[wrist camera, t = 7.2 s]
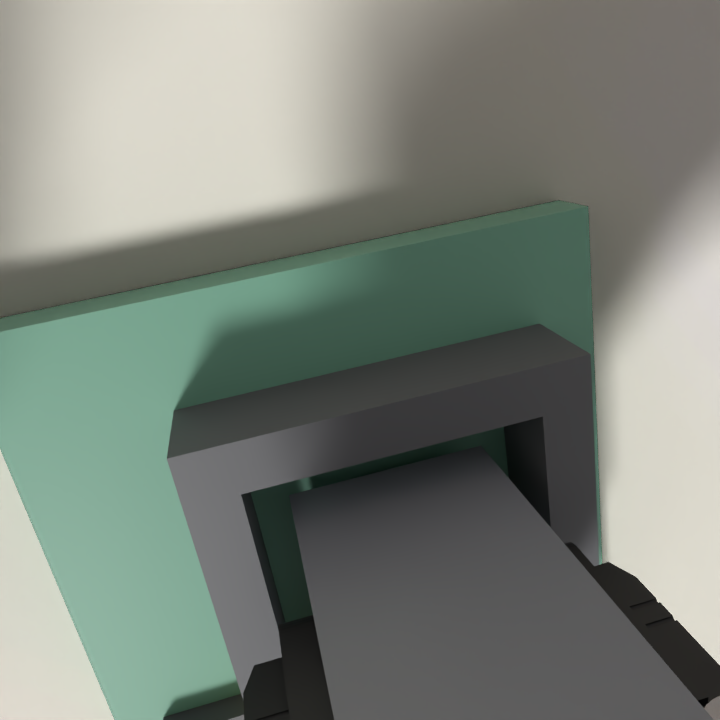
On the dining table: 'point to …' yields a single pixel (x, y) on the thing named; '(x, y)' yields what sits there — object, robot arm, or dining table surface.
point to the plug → (466, 605)
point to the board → (285, 429)
